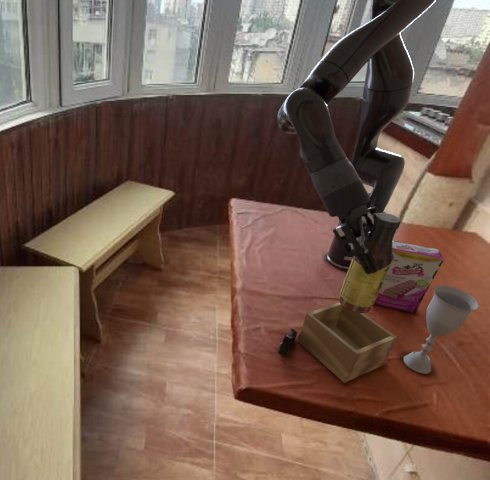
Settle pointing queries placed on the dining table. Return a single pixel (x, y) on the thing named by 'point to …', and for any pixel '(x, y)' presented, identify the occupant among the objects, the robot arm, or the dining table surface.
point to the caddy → (345, 341)
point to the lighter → (287, 342)
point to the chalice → (441, 322)
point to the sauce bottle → (380, 246)
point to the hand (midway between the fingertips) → (380, 266)
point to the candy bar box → (408, 276)
